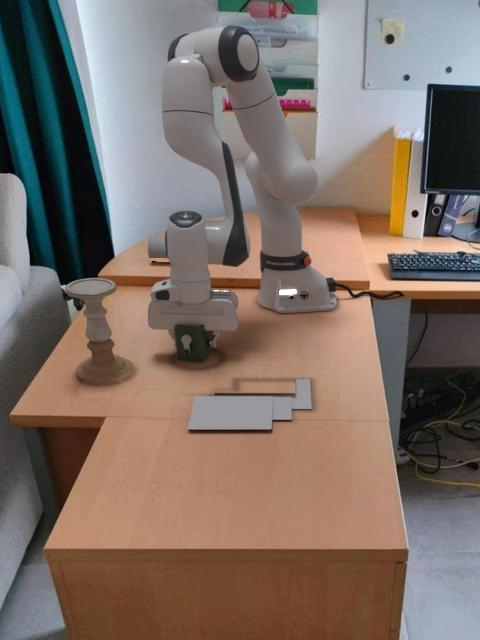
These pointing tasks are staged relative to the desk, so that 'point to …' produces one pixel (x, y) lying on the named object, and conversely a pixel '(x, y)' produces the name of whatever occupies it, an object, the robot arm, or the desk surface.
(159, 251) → the grey cylinder
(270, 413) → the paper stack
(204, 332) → the sharpener
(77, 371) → the candle holder
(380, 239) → the desk surface
